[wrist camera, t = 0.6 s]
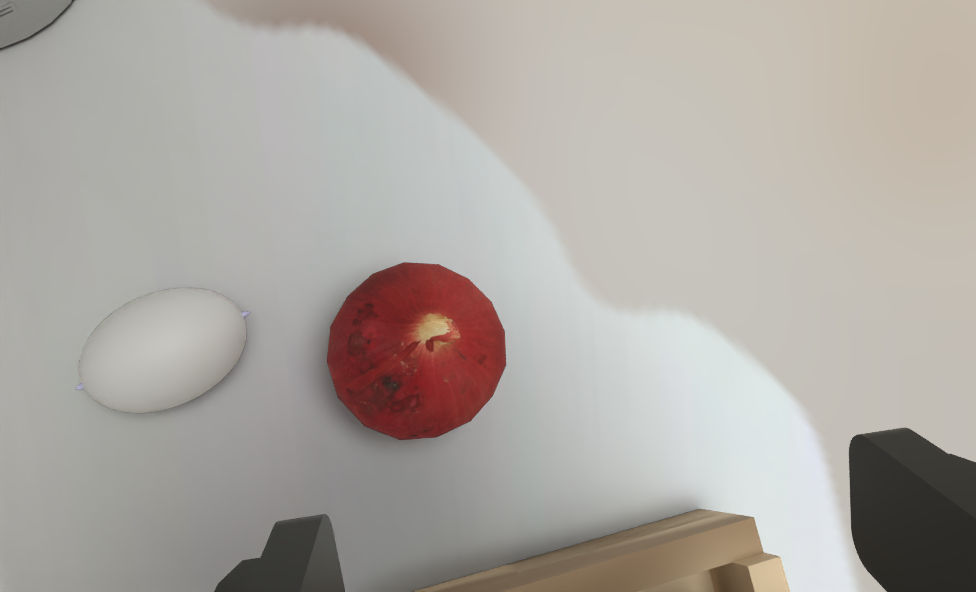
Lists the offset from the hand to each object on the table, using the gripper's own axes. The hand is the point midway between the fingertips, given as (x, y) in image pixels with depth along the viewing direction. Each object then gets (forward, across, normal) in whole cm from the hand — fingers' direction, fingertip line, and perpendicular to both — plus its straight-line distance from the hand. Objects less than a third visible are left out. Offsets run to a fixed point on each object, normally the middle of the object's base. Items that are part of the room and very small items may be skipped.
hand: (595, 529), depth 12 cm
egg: (+17, +12, +1) cm, 21 cm away
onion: (+18, +4, +2) cm, 18 cm away
